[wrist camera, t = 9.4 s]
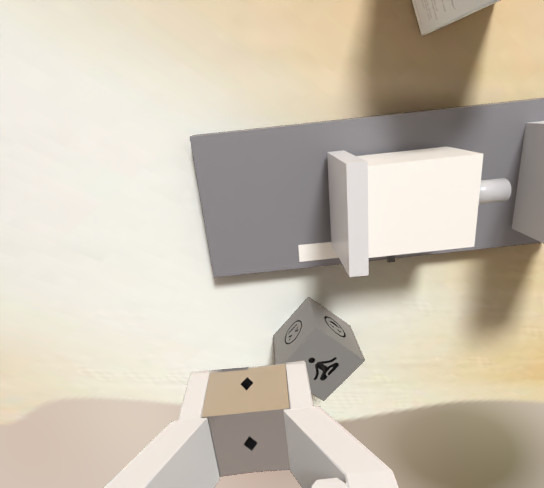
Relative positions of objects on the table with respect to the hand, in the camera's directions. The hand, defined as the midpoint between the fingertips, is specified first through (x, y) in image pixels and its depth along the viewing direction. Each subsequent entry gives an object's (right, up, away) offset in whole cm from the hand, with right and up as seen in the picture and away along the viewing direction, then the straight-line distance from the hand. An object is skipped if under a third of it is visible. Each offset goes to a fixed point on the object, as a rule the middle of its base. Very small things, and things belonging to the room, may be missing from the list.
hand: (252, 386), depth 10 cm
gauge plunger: (+11, +7, +18) cm, 22 cm away
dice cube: (+4, -4, +24) cm, 25 cm away
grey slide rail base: (+9, +8, +19) cm, 23 cm away
